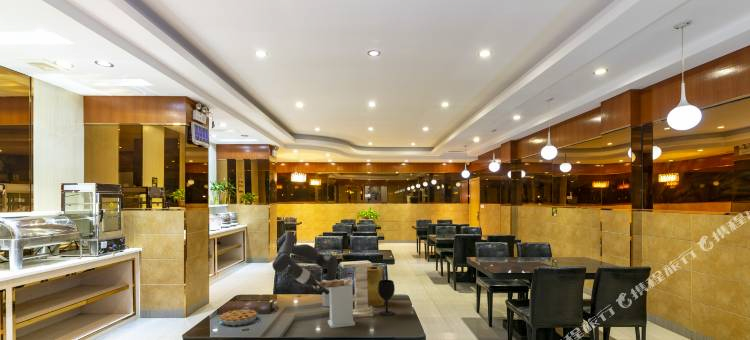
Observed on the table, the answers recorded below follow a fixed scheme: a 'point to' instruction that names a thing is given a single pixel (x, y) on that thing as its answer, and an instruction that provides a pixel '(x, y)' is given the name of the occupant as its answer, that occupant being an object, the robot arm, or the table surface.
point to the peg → (336, 283)
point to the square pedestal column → (360, 287)
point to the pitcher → (374, 285)
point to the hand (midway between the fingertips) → (325, 290)
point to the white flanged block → (341, 306)
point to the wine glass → (386, 294)
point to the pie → (238, 317)
